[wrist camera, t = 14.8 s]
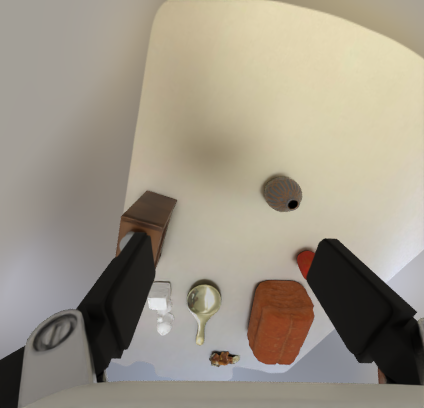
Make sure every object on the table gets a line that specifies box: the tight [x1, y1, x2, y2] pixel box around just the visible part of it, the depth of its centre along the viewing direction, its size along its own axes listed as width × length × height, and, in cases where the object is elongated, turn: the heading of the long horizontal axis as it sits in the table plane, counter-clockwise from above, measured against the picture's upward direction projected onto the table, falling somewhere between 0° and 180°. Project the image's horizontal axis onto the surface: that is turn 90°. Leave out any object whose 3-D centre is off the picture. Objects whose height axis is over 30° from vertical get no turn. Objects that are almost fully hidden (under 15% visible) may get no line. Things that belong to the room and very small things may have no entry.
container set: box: [148, 282, 174, 336], centre depth 52 cm, size 20×5×6 cm, turn 178°
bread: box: [247, 280, 314, 365], centre depth 51 cm, size 16×27×11 cm, turn 179°
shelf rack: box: [116, 191, 177, 269], centre depth 37 cm, size 7×18×12 cm, turn 161°
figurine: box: [119, 231, 135, 251], centre depth 27 cm, size 5×4×6 cm
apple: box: [297, 251, 315, 279], centre depth 43 cm, size 6×6×8 cm
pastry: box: [209, 351, 240, 367], centre depth 67 cm, size 7×12×4 cm, turn 81°
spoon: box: [187, 284, 221, 345], centre depth 57 cm, size 35×11×2 cm, turn 175°
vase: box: [264, 177, 302, 212], centre depth 34 cm, size 7×7×9 cm
